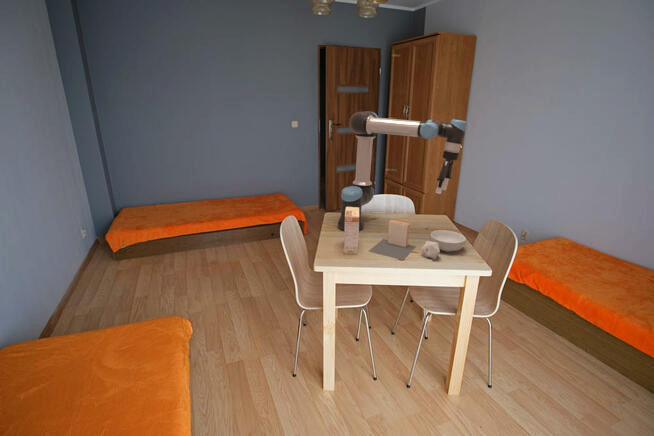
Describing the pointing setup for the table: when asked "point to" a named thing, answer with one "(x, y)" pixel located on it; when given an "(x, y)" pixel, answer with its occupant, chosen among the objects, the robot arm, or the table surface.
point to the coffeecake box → (351, 230)
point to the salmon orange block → (398, 233)
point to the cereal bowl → (448, 240)
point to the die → (431, 249)
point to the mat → (392, 250)
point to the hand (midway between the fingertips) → (440, 191)
